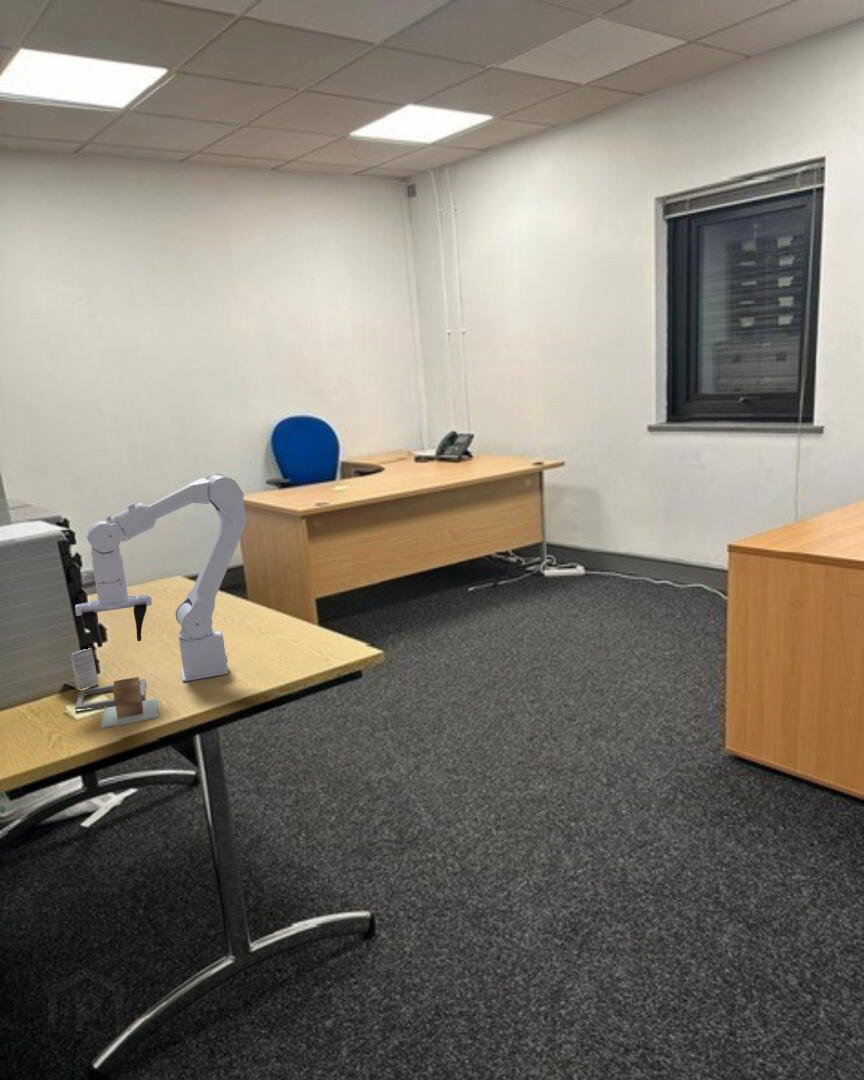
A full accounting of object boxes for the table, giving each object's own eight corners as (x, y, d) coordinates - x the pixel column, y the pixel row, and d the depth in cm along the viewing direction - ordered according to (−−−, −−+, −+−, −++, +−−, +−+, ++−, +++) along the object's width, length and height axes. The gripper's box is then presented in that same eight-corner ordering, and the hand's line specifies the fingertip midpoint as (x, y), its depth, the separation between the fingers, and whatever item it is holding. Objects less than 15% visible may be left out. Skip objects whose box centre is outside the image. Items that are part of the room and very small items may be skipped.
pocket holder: (146, 683, 168) (145, 678, 167) (145, 699, 159) (144, 694, 159) (80, 694, 164) (79, 690, 163) (76, 712, 155) (75, 707, 155)
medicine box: (99, 685, 168) (92, 647, 166) (78, 692, 165) (72, 653, 163) (83, 677, 174) (76, 640, 172) (62, 684, 170) (56, 647, 169)
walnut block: (143, 705, 155) (138, 676, 154) (142, 713, 151) (137, 684, 150) (118, 709, 154) (114, 681, 152) (117, 718, 149) (112, 689, 148)
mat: (157, 700, 158) (157, 698, 158) (157, 717, 150) (157, 715, 149) (105, 710, 155) (104, 708, 155) (101, 728, 147) (101, 726, 146)
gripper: (69, 589, 154) (80, 654, 157) (147, 579, 158) (156, 642, 161) (73, 581, 160) (83, 644, 163) (147, 571, 165) (156, 632, 168)
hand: (120, 642), depth 163 cm, fingers open, 7 cm apart
